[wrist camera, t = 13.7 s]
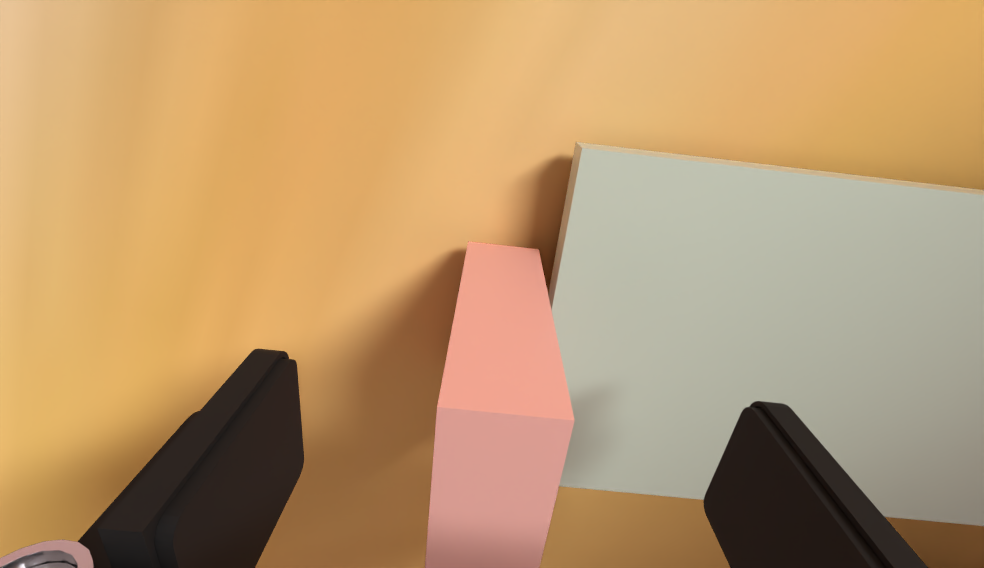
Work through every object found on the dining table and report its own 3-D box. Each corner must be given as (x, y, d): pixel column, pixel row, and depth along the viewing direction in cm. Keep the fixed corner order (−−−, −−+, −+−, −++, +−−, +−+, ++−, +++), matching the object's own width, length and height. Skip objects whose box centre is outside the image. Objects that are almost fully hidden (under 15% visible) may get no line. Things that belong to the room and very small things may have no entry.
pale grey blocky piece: (480, 127, 12) (452, 203, 5) (1165, 207, 13) (1956, 373, 6) (450, 436, 17) (415, 696, 10) (956, 485, 18) (1261, 763, 11)
